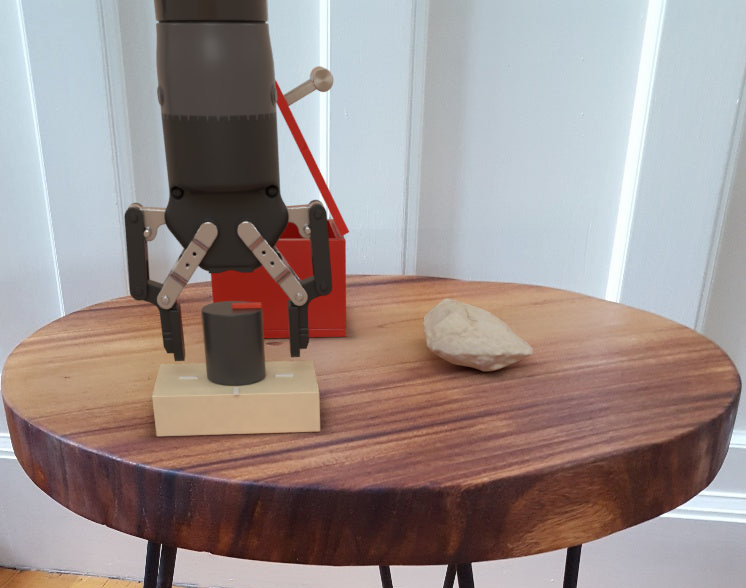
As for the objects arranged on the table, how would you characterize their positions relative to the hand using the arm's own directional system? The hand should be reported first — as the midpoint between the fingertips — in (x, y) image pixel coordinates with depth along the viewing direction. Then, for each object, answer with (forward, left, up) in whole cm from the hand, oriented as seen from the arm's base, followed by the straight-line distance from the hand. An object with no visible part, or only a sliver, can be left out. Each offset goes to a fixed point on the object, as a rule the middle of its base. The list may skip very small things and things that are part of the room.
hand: (237, 356), depth 71 cm
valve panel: (0, 0, -5) cm, 5 cm away
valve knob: (0, 0, -1) cm, 1 cm away
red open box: (+4, +28, -5) cm, 29 cm away
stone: (+21, +14, -5) cm, 25 cm away
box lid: (+7, +28, +11) cm, 31 cm away
